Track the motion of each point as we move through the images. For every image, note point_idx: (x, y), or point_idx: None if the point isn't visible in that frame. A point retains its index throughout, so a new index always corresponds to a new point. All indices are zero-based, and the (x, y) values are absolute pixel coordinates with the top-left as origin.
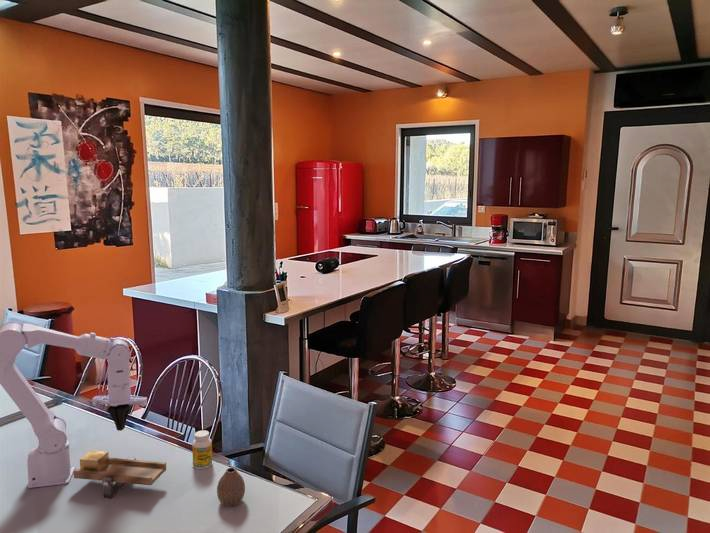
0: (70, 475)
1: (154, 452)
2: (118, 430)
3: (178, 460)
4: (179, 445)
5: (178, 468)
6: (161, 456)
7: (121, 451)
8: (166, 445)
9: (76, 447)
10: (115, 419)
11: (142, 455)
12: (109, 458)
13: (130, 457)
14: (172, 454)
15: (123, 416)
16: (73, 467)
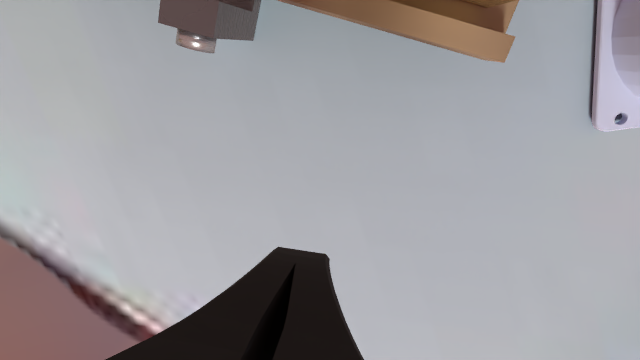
0: (606, 20)
1: (205, 255)
2: (311, 252)
3: (57, 168)
4: (114, 304)
5: (21, 87)
6: (155, 214)
7: (373, 283)
8: (173, 311)
9: (624, 348)
10: (311, 338)
11: (253, 233)
12: (347, 2)
13: (197, 32)
14: (111, 227)
15: (119, 355)
16: (605, 120)
